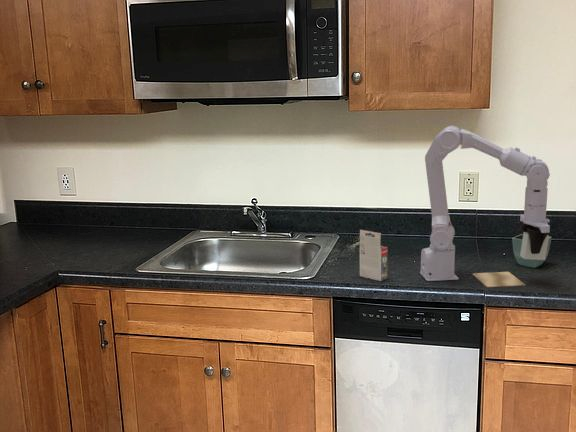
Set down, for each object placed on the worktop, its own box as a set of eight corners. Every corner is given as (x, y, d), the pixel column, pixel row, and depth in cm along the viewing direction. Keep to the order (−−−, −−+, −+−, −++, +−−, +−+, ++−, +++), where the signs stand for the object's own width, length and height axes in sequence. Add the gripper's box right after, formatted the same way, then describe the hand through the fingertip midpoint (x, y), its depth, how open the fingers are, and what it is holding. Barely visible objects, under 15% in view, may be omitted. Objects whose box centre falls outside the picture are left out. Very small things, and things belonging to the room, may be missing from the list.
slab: (524, 258, 183) (528, 234, 182) (520, 255, 186) (523, 232, 185) (545, 259, 184) (549, 235, 182) (540, 256, 187) (544, 233, 185)
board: (486, 287, 184) (487, 286, 184) (472, 274, 196) (472, 273, 196) (525, 285, 185) (525, 284, 185) (508, 272, 196) (508, 271, 196)
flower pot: (509, 265, 203) (511, 237, 201) (523, 259, 209) (524, 232, 207) (537, 271, 197) (539, 242, 195) (550, 264, 203) (552, 236, 201)
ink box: (366, 273, 199) (366, 226, 196) (388, 278, 194) (388, 230, 191) (359, 276, 197) (358, 229, 194) (380, 282, 191) (381, 233, 188)
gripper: (562, 209, 175) (558, 258, 178) (538, 198, 189) (535, 244, 192) (536, 210, 174) (533, 259, 178) (514, 199, 189) (511, 245, 192)
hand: (532, 251), depth 185 cm, fingers closed on slab, 3 cm apart
